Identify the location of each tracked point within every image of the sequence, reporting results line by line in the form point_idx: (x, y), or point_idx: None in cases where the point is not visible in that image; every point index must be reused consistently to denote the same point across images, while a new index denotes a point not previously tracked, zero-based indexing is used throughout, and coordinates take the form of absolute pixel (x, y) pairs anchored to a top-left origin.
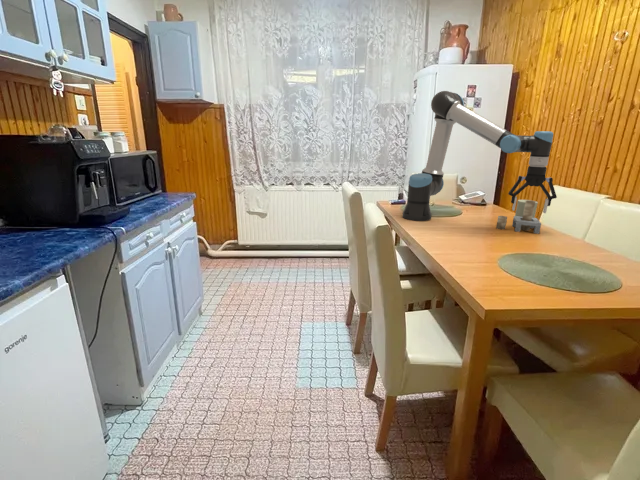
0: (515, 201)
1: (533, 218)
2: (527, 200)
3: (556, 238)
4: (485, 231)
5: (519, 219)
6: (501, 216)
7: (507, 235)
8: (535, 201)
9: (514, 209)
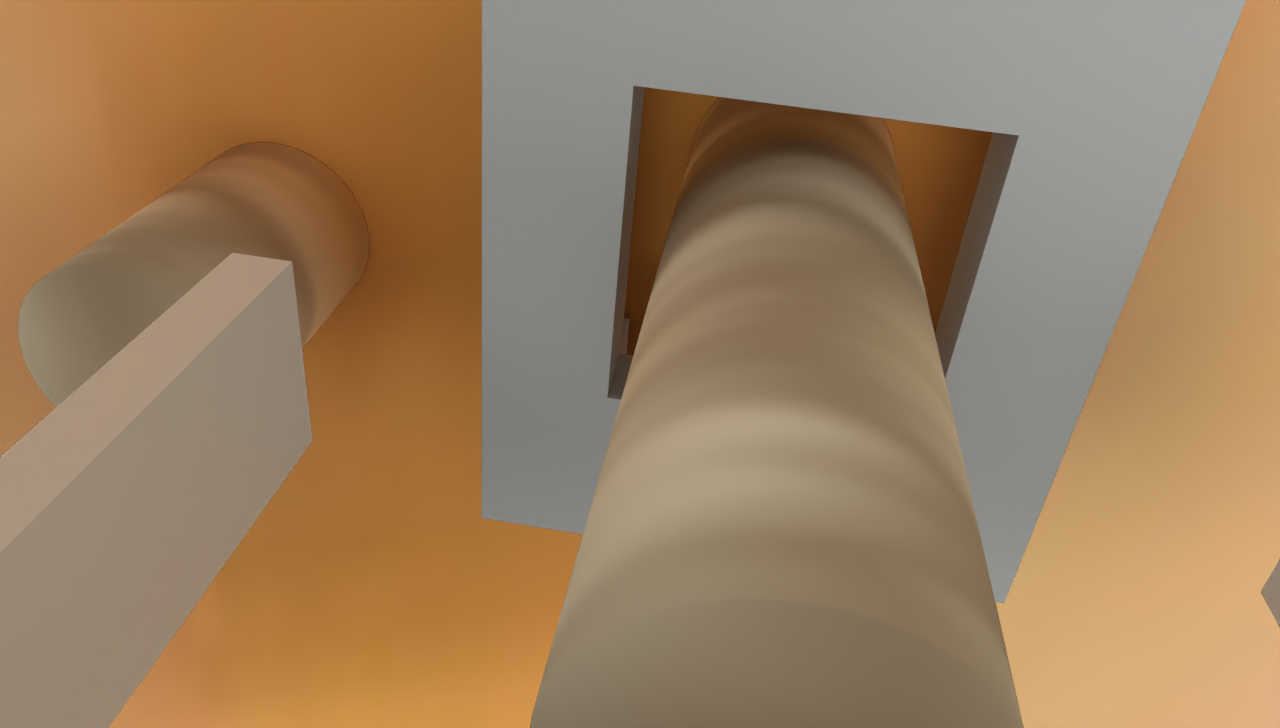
0: (87, 704)
1: (1099, 38)
2: (666, 617)
3: (1143, 648)
4: None
5: (574, 327)
6: (100, 357)
7: (389, 630)
8: None
9: (285, 468)
